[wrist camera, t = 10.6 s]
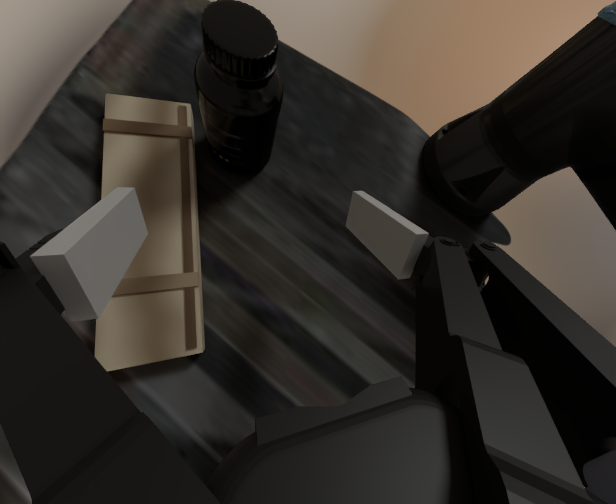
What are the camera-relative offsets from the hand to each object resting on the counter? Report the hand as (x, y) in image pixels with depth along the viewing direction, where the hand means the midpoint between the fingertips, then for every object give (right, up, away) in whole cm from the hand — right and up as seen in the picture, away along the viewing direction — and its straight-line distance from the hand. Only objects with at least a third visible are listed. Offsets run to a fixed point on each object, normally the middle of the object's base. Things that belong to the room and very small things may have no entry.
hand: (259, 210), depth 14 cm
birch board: (-11, 0, +7) cm, 13 cm away
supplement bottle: (-5, +9, +11) cm, 15 cm away
